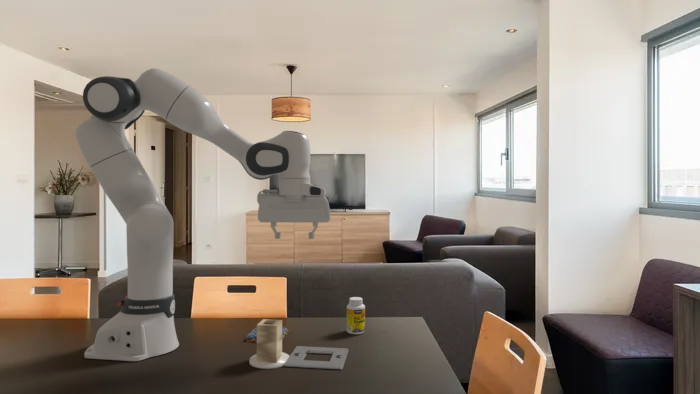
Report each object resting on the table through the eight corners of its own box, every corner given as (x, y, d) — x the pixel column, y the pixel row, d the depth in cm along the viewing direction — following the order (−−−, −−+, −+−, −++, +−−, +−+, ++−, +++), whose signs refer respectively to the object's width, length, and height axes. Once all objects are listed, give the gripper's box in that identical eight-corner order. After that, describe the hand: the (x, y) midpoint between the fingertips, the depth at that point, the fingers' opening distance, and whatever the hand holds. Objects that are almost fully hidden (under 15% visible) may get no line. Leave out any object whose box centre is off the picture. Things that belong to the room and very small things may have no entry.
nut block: (256, 361, 108) (256, 324, 108) (263, 354, 113) (263, 318, 113) (276, 362, 107) (276, 325, 107) (282, 355, 112) (282, 319, 112)
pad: (245, 369, 105) (245, 366, 105) (252, 353, 115) (252, 351, 115) (288, 368, 105) (288, 365, 105) (291, 353, 115) (291, 351, 115)
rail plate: (284, 366, 107) (284, 362, 107) (296, 349, 119) (296, 345, 119) (342, 369, 105) (342, 365, 105) (348, 351, 117) (348, 348, 117)
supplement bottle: (353, 336, 129) (353, 301, 129) (342, 331, 134) (343, 297, 134) (368, 333, 133) (368, 299, 132) (358, 328, 137) (358, 295, 137)
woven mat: (244, 343, 124) (244, 336, 124) (255, 331, 135) (255, 325, 135) (280, 345, 123) (280, 337, 123) (289, 333, 134) (289, 326, 134)
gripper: (255, 189, 120) (255, 239, 120) (330, 189, 121) (330, 239, 121) (259, 189, 127) (258, 237, 127) (330, 189, 128) (330, 237, 128)
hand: (294, 238), depth 124 cm, fingers open, 8 cm apart
